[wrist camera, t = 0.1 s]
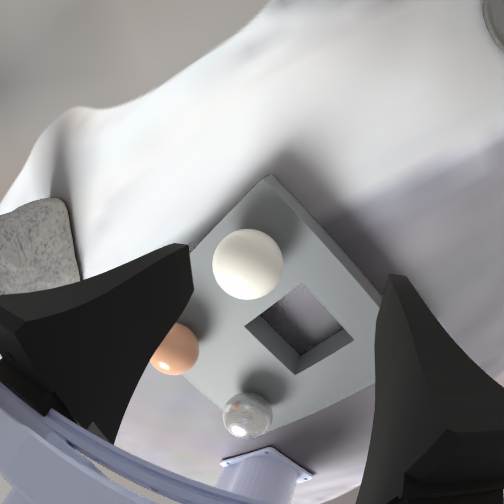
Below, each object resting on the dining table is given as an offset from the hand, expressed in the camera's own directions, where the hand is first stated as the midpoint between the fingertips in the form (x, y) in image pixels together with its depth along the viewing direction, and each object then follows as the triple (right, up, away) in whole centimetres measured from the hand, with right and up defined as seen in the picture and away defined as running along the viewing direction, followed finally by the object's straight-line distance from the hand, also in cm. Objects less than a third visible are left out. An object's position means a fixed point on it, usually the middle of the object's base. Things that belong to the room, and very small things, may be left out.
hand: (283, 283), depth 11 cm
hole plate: (0, -5, +13) cm, 14 cm away
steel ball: (-1, -12, +12) cm, 17 cm away
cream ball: (-1, 0, +7) cm, 7 cm away
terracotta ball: (-7, -6, +11) cm, 15 cm away
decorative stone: (-21, +2, +18) cm, 28 cm away
